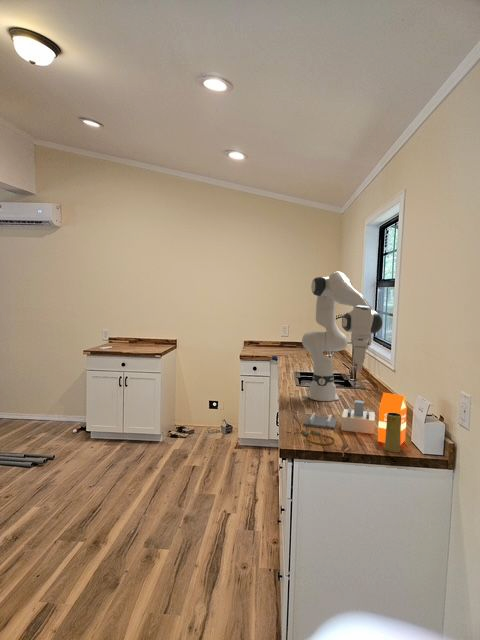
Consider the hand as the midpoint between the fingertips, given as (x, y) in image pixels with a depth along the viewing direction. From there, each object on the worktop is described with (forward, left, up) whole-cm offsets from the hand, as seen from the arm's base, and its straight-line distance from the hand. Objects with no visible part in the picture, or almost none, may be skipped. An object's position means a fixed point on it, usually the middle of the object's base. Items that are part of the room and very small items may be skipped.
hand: (359, 371), depth 190 cm
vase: (+24, +14, -26) cm, 38 cm away
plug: (0, 0, -20) cm, 20 cm away
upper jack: (0, 0, -26) cm, 26 cm away
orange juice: (+14, +14, -26) cm, 33 cm away
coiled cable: (+22, -15, -27) cm, 38 cm away
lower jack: (0, -17, -26) cm, 31 cm away
